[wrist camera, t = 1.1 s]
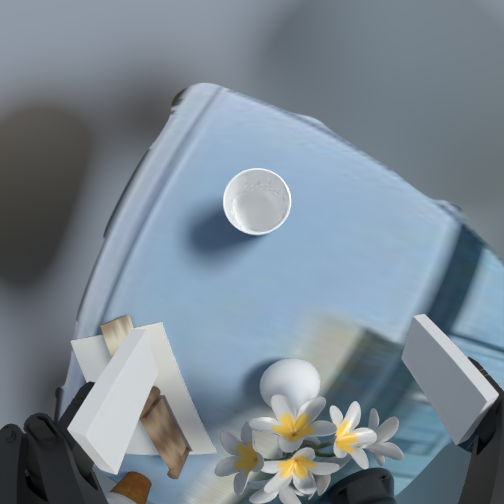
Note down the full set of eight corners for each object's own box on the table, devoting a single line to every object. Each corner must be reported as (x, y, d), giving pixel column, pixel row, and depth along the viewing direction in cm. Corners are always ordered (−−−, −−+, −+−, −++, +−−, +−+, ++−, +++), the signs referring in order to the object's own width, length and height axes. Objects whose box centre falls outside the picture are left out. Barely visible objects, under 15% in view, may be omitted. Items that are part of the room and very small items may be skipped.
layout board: (216, 451, 41) (216, 453, 40) (126, 452, 42) (125, 453, 42) (162, 321, 42) (160, 322, 41) (72, 340, 43) (70, 341, 42)
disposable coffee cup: (143, 493, 42) (127, 522, 30) (115, 471, 43) (95, 498, 31) (165, 487, 42) (149, 520, 30) (135, 463, 42) (114, 494, 30)
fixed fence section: (191, 452, 41) (180, 479, 32) (182, 452, 41) (170, 478, 33) (157, 385, 41) (138, 408, 33) (148, 386, 41) (128, 408, 33)
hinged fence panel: (155, 384, 41) (138, 402, 34) (148, 384, 41) (131, 402, 34) (129, 314, 41) (107, 323, 34) (122, 316, 41) (100, 325, 34)
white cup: (294, 201, 41) (302, 184, 31) (272, 248, 41) (273, 246, 31) (247, 179, 41) (240, 158, 31) (224, 225, 41) (211, 217, 31)
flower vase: (351, 391, 40) (407, 489, 15) (246, 414, 41) (228, 527, 16) (341, 323, 40) (418, 399, 15) (227, 349, 41) (182, 451, 16)
